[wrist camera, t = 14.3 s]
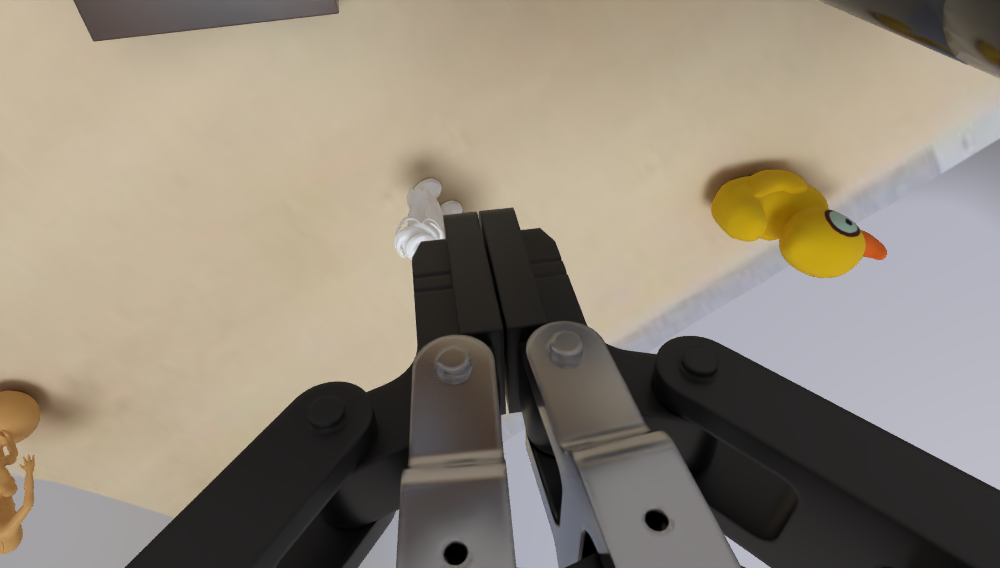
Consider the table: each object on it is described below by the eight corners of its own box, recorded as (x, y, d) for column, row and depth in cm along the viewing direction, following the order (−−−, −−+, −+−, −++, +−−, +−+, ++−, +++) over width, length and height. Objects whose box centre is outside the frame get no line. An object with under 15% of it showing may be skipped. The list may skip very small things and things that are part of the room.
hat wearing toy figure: (372, 175, 40) (383, 288, 31) (419, 142, 39) (445, 248, 30) (448, 257, 45) (476, 372, 36) (490, 229, 44) (530, 341, 36)
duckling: (830, 164, 48) (923, 234, 40) (798, 220, 51) (878, 294, 43) (711, 154, 44) (787, 227, 37) (684, 214, 48) (749, 293, 40)
